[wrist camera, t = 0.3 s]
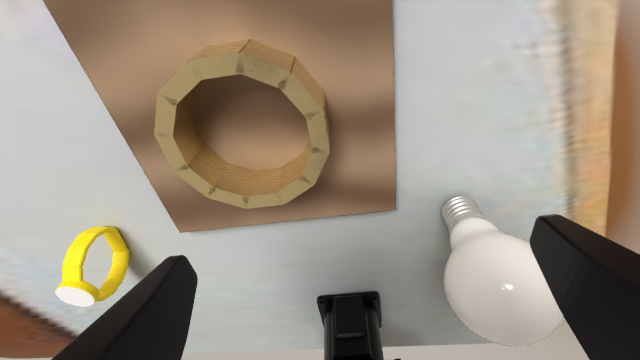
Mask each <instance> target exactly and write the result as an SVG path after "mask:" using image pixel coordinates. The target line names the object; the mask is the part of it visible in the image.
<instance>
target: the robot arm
mask: <svg viewBox="0 0 640 360" xmlns="http://www.w3.org/2000/svg"><path fill="white" fill-rule="evenodd" d="M530 247H531V250H532V252H533V254H534V256H535V259H536V261H537V263H538V265H539V267H540V269H541V271H542V274H543V276H544V278H545V280H546V282H547V284H548V286H549V289H550V291H551V293H552V295H553V297H554V299H555V301H556V303H557V305H558V307H559V309H560V311H561V313H562V314H563V316H564V318H565V319H566V321H567V323H568V324H569V326H570V328H571V329H572V331H573V333H574V334H575V336H576V338H577V339H578V341H579V343H580V344H581V346H582V347H583V349H584V351H585V352H586V354H587V356H588V358H589V359H590V360H640V254H638V253H635V252H634V251H631V250H629V249H627V248H625V247H623V246H621V245H619V244H617V243H615V242H613V241H611V240H609V239H607V238H605V237H603V236H601V235H599V234H597V233H595V232H593V231H591V230H589V229H587V228H585V227H583V226H581V225H579V224H577V223H575V222H573V221H571V220H569V219H567V218H565V217H563V216H561V215H558V214H552V215H543V216H539V217H538V218H537V219H536V221H535V224H534V228H533V231H532V234H531V237H530ZM196 288H197V274H196V272H195V271H194V269H193V267H192V266H191V264H190V262H189V261H188V259H187V258H186V257H185V256H184V255H179V256H170V257H168V258H166V259H165V260H164V261H163V262H162V263H161V264H159V265H158V266H157V267H156V268H155V269H154V270H153V271H152V272H150V273H149V274H148V275H147V276H146V277H145V278H144V279H142V280H141V281H140V282H139V283H138V284H137V285H136V286H134V287H133V288H132V289H131V290H130V291H129V292H128V293H126V294H125V295H124V296H123V297H122V298H121V299H120V300H119V301H117V302H116V303H115V304H114V305H113V306H112V307H111V308H109V309H108V310H107V311H106V312H105V313H104V314H103V315H101V316H100V317H99V318H98V319H97V320H96V321H95V322H93V323H92V324H91V325H90V326H89V327H88V328H87V329H85V330H84V331H83V332H82V333H81V334H80V335H79V336H78V337H76V338H75V339H74V340H73V341H72V342H71V343H70V344H68V345H67V346H66V347H65V348H64V349H63V350H62V351H60V352H59V353H58V354H57V355H56V356H55V357H54V358H52V359H51V360H181V357H182V354H183V350H184V347H185V343H186V339H187V335H188V330H189V325H190V320H191V315H192V309H193V304H194V298H195V293H196ZM317 304H318V307H319V311H320V315H321V318H322V322H323V325H324V353H325V354H324V360H384V359H383V352H382V345H381V338H380V331H379V328H381V326H382V325H381V312H380V299H379V293H378V292H365V293H353V294H341V295H328V296H319V297H318V298H317ZM395 360H401V359H395Z"/></svg>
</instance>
